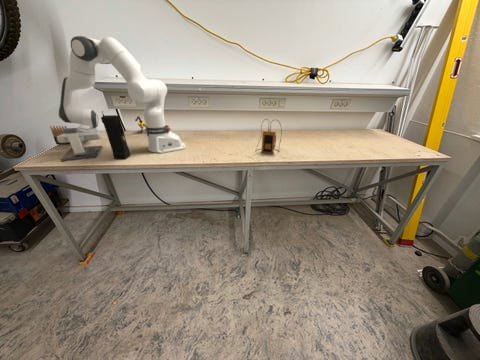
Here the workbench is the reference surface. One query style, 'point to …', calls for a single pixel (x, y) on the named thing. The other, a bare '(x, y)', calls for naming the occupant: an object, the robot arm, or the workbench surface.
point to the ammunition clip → (57, 133)
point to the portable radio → (116, 136)
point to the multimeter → (268, 140)
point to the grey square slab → (90, 153)
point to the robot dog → (141, 123)
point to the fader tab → (75, 141)
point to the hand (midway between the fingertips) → (76, 140)
